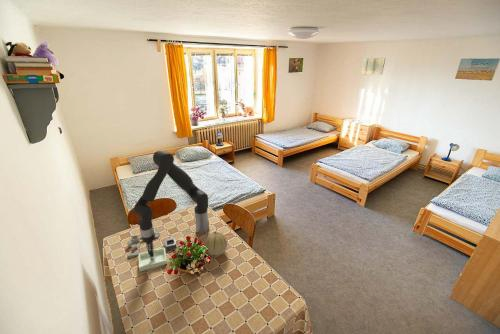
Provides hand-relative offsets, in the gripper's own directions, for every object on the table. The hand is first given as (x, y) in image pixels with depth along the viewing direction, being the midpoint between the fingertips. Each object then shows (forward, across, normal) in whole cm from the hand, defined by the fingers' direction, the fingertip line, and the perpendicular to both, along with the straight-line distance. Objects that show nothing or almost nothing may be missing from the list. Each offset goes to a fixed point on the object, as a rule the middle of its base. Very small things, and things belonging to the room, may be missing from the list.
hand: (151, 254), depth 153 cm
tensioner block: (+6, +10, -12) cm, 17 cm away
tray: (+6, 0, 0) cm, 6 cm away
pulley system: (+6, +20, +8) cm, 22 cm away
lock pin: (+4, 0, 0) cm, 4 cm away
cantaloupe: (+6, -7, -40) cm, 41 cm away
